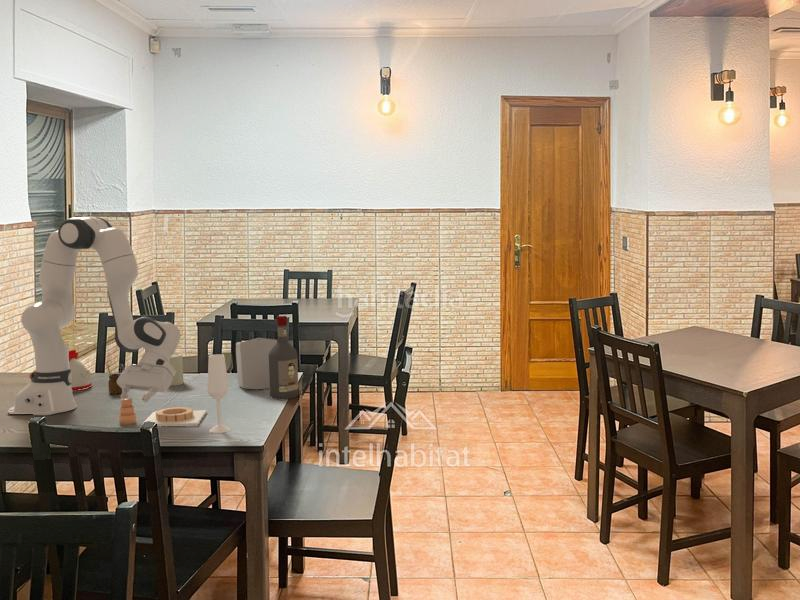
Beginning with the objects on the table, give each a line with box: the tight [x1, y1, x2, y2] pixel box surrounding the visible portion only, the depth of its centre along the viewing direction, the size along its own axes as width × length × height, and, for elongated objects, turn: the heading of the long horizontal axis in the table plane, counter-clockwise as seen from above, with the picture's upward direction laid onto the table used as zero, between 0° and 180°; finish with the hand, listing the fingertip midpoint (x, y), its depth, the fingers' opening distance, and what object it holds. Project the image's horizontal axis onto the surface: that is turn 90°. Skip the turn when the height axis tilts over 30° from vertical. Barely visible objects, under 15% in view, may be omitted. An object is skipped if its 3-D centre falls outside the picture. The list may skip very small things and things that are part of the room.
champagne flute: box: [206, 354, 231, 434], centre depth 282 cm, size 7×7×24 cm
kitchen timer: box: [68, 349, 93, 390], centre depth 352 cm, size 14×14×15 cm
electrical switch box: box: [235, 337, 278, 390], centre depth 350 cm, size 15×15×20 cm
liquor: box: [269, 315, 299, 400], centre depth 329 cm, size 9×9×30 cm
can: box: [169, 352, 185, 387], centre depth 357 cm, size 9×9×12 cm
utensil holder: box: [106, 362, 124, 395], centre depth 341 cm, size 6×6×12 cm
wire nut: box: [118, 397, 137, 426], centre depth 295 cm, size 5×5×8 cm
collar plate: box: [140, 406, 207, 428], centre depth 298 cm, size 18×18×3 cm
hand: (133, 399), depth 297 cm, fingers open, 8 cm apart
